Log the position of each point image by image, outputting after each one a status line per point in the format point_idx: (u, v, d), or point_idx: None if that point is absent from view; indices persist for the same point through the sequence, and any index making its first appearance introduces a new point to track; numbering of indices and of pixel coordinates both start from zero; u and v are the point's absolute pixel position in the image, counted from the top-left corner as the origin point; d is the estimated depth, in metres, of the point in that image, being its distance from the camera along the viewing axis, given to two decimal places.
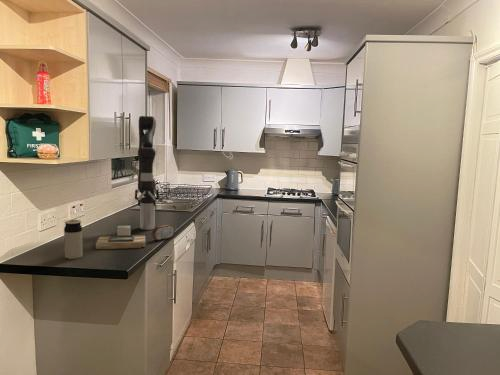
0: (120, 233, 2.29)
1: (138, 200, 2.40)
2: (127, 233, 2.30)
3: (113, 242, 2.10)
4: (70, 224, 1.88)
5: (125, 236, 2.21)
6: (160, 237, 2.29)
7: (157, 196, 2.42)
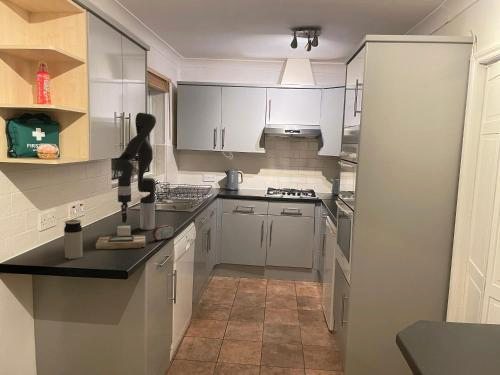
0: (120, 233, 2.29)
1: (125, 216, 2.25)
2: (127, 233, 2.30)
3: (113, 242, 2.10)
4: (70, 224, 1.88)
5: (125, 236, 2.21)
6: (160, 237, 2.29)
7: None
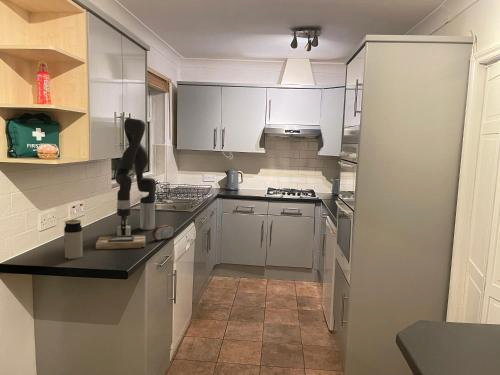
0: (120, 233, 2.29)
1: (124, 230, 2.28)
2: (127, 233, 2.30)
3: (113, 242, 2.10)
4: (70, 224, 1.88)
5: (125, 236, 2.21)
6: (160, 237, 2.29)
7: None
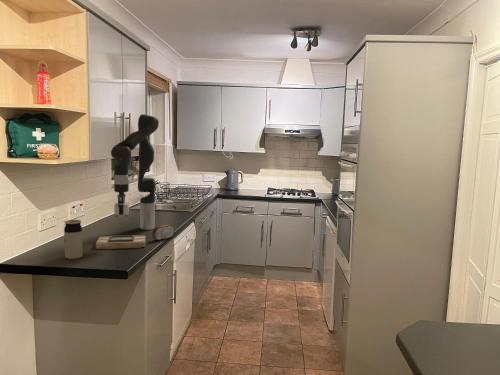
0: (117, 211, 2.12)
1: (122, 208, 2.12)
2: (125, 211, 2.13)
3: (113, 242, 2.10)
4: (70, 224, 1.88)
5: (125, 236, 2.21)
6: (160, 237, 2.29)
7: None
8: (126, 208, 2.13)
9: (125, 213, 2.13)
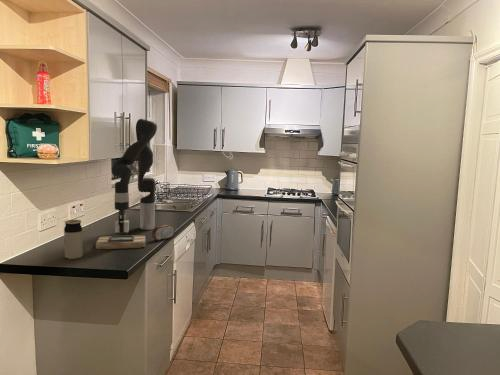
0: (118, 228, 2.13)
1: (122, 225, 2.13)
2: (125, 228, 2.14)
3: (113, 242, 2.10)
4: (70, 224, 1.88)
5: (125, 236, 2.21)
6: (160, 237, 2.29)
7: None
8: (126, 225, 2.14)
9: (125, 230, 2.15)
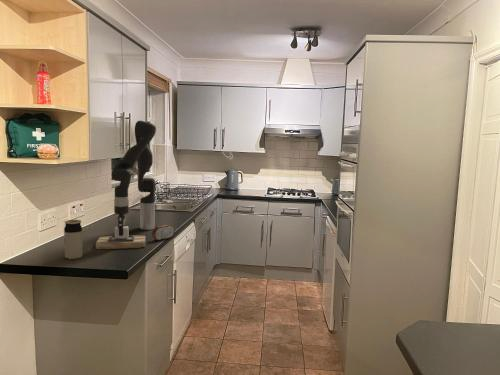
0: (118, 234, 2.14)
1: (122, 229, 2.12)
2: (125, 234, 2.15)
3: (113, 242, 2.10)
4: (70, 224, 1.88)
5: None
6: (160, 237, 2.29)
7: None
8: (126, 232, 2.15)
9: (125, 236, 2.15)
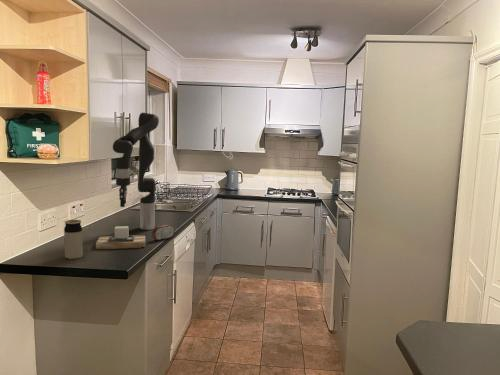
0: (118, 234, 2.14)
1: (123, 200, 2.14)
2: (125, 234, 2.15)
3: (113, 242, 2.10)
4: (70, 224, 1.88)
5: None
6: (160, 237, 2.29)
7: None
8: (126, 232, 2.15)
9: (125, 236, 2.15)
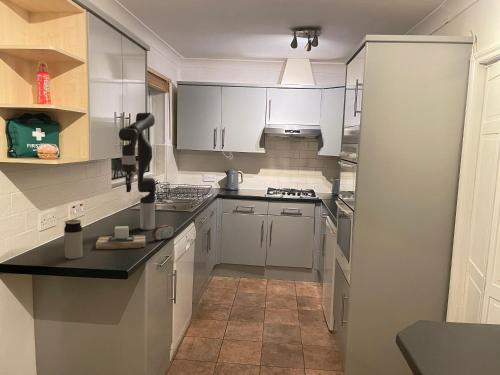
0: (118, 234, 2.14)
1: (129, 185, 2.23)
2: (125, 234, 2.15)
3: (113, 242, 2.10)
4: (70, 224, 1.88)
5: None
6: (160, 237, 2.29)
7: None
8: (126, 232, 2.15)
9: (125, 236, 2.15)
